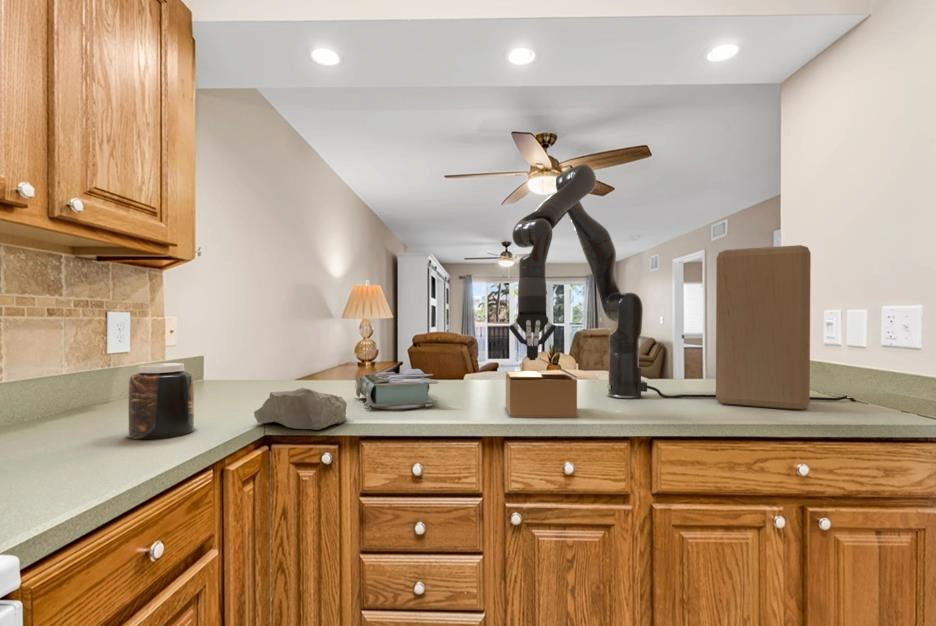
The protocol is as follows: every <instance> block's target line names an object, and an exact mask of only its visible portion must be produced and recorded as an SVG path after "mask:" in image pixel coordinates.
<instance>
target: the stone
mask: <svg viewBox="0 0 936 626" xmlns="http://www.w3.org/2000/svg"><path fill="white" fill-rule="evenodd" d="M347 406H348V405H347V401H346V400H345V398H343V397H342V396H338V395H334V394H330V393H323V392H319V391H316V390H313V389H309V388H305V387H301V388H297V389H295V390H284V391H283V390H282V391H271V392H270V393H269V397H267V399H266V400H265V401H264V402H263V404H262V406H260V408H258V409H256V410H254V411H253V415H254V418H255V421H256V422H257V423H258V424H268V423H273V422H275V423H278V424H280V425H282V426H284V427H286V428H290V429H298V430H299V429H300V430H314V431H315V430H317V431H319V430H322V429H324V428H327V427H329V426H332V425H339V424H342V423H344V422H345V421H346V417H347V415H346V414H347V411H346V410H347Z"/></svg>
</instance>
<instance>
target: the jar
mask: <svg viewBox="0 0 936 626" xmlns="http://www.w3.org/2000/svg"><path fill="white" fill-rule="evenodd" d="M137 372H138V373H135V374H133V375H131V376H130V377H129V380H128V438H129V439H132V440H142V441H143V440H144V441H145V440H159V439H168V438H174V437H179V436H183V435H184V436H185V435H187V434H190V433H192V432H194V429H195V428H194V427H195V422H194V421H195V412H194V411H195V405H194V403H195V402H194V401H195V399H194V398H195V396H194V395H195V394H194V393H195V392H194V375H193V373H191V372H189V371H186V369H185V363H181V362H164V363H163V362H161V363H147V364H140V365H138V371H137Z"/></svg>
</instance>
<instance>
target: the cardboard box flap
mask: <svg viewBox="0 0 936 626" xmlns="http://www.w3.org/2000/svg"><path fill="white" fill-rule="evenodd" d="M539 360H540V361H542V362H544V363H546V364H548V365H550V366H552V367H553V368H556V369H558V370H559V371H562V372H564V374H567V375H569V376H571V377H572V378H574V379H577V377H578V376H577V375H575V374H573V373H571V372H569V371H567V370H565V369H563V368H561V367H559V366H557V365H555V364H553V363H551V362H549V361H548V360H546V359H543V358H541V357H539Z"/></svg>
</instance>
